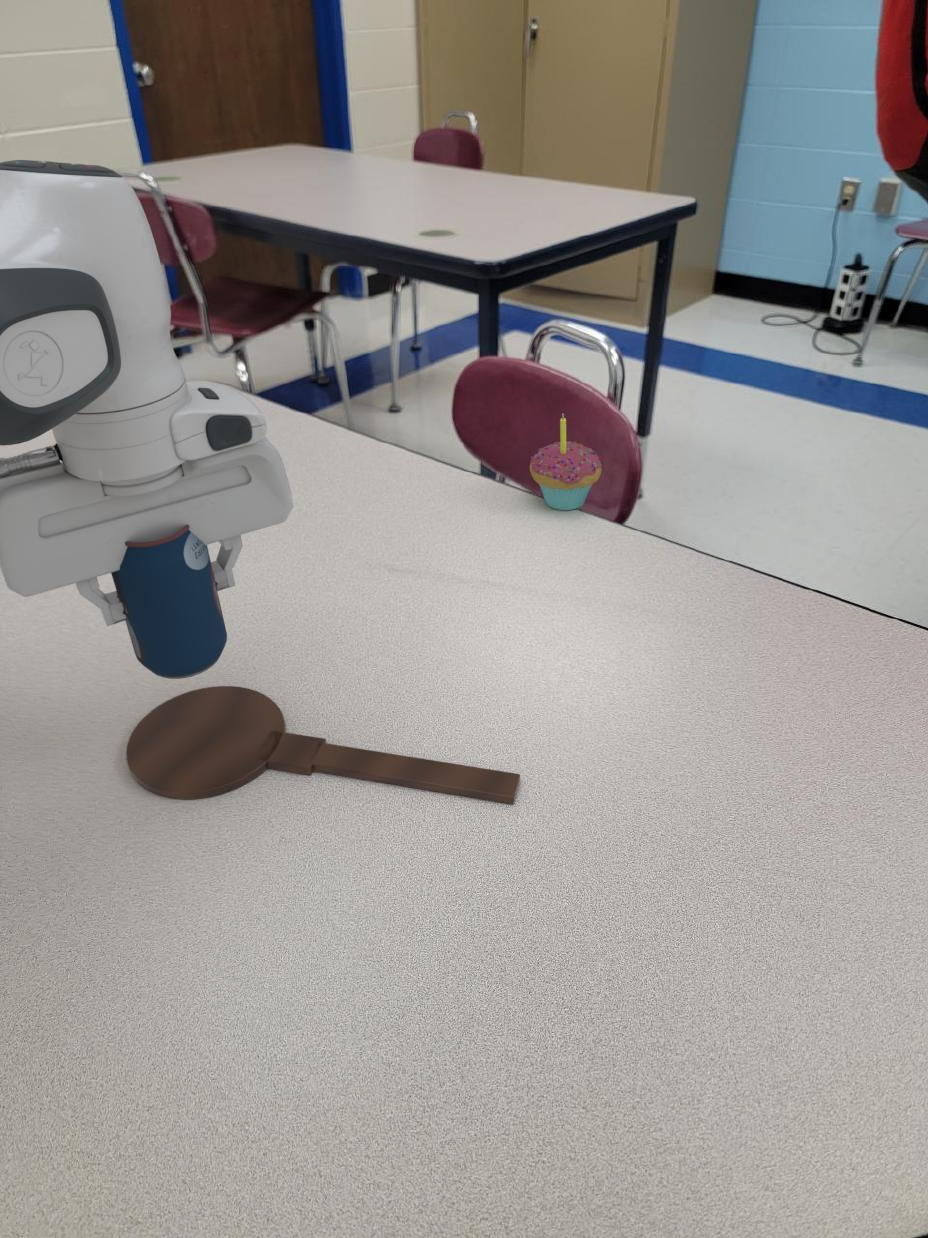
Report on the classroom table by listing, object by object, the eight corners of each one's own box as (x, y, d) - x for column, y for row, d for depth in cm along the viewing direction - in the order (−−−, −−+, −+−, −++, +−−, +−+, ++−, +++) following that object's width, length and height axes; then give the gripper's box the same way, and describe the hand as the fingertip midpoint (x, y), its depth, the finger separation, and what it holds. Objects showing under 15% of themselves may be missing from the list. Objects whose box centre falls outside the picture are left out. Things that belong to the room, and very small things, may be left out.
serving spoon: (96, 785, 72) (94, 778, 72) (176, 683, 83) (174, 676, 82) (499, 857, 65) (499, 850, 65) (532, 736, 75) (532, 729, 75)
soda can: (248, 644, 72) (220, 510, 65) (188, 695, 67) (151, 556, 60) (182, 621, 74) (149, 491, 67) (119, 669, 70) (77, 533, 63)
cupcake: (590, 522, 105) (596, 425, 98) (520, 512, 107) (520, 417, 100) (605, 489, 111) (612, 395, 104) (538, 480, 113) (540, 389, 106)
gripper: (-39, 488, 53) (32, 671, 61) (286, 410, 61) (311, 581, 69) (-51, 450, 58) (17, 625, 66) (254, 382, 66) (281, 545, 74)
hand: (171, 602), depth 68 cm, fingers closed on soda can, 7 cm apart
